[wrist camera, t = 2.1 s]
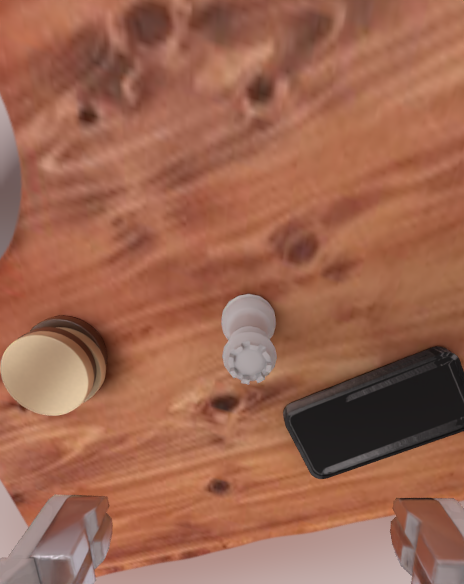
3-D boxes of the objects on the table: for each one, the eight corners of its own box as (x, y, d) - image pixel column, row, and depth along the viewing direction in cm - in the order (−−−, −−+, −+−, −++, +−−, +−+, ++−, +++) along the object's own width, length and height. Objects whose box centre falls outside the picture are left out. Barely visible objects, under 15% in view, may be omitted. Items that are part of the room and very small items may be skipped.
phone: (482, 424, 24) (315, 482, 26) (471, 415, 25) (312, 472, 27) (455, 346, 23) (279, 415, 25) (445, 340, 24) (278, 406, 26)
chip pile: (125, 342, 25) (106, 362, 22) (93, 406, 27) (71, 434, 24) (45, 301, 25) (12, 314, 21) (18, 369, 26) (-16, 392, 23)
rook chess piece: (261, 350, 25) (269, 410, 17) (213, 331, 25) (199, 382, 17) (283, 305, 24) (302, 346, 16) (234, 284, 24) (228, 315, 16)
